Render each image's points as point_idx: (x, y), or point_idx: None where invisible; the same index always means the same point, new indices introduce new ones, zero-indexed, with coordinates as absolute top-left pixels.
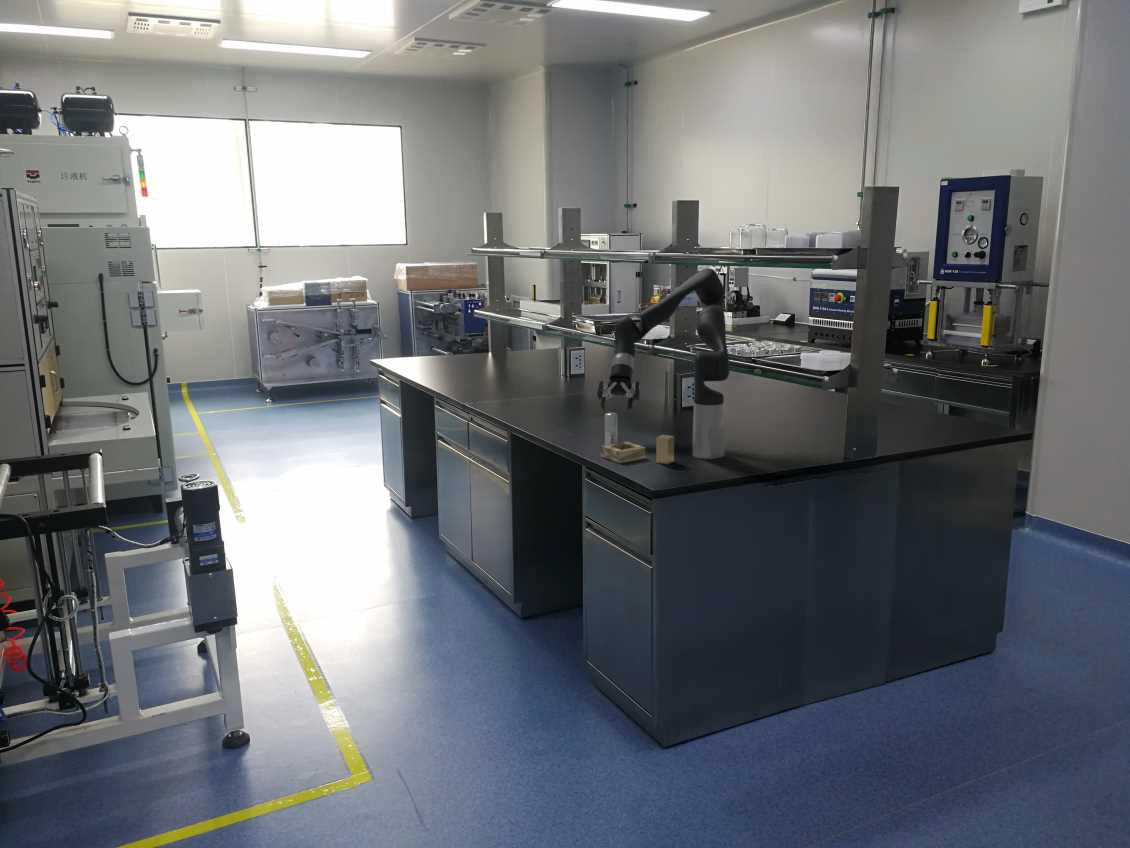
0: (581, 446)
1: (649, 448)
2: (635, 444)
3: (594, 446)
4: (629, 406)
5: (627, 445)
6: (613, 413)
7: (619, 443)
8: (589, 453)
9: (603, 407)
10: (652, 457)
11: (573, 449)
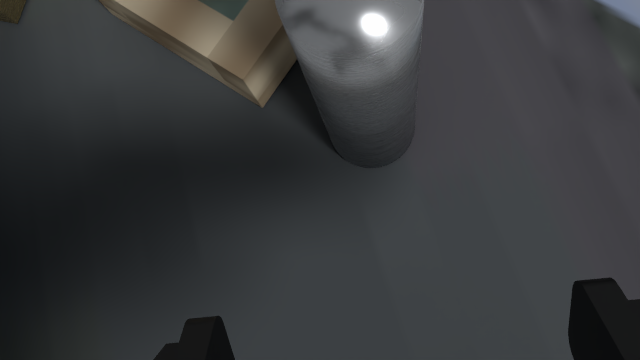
0: (622, 159)
1: (136, 268)
2: (152, 20)
3: (527, 192)
4: (186, 329)
5: (209, 8)
6: (326, 14)
7: (266, 5)
8: (480, 5)
9: (588, 283)
10: (81, 60)
11: (637, 59)
